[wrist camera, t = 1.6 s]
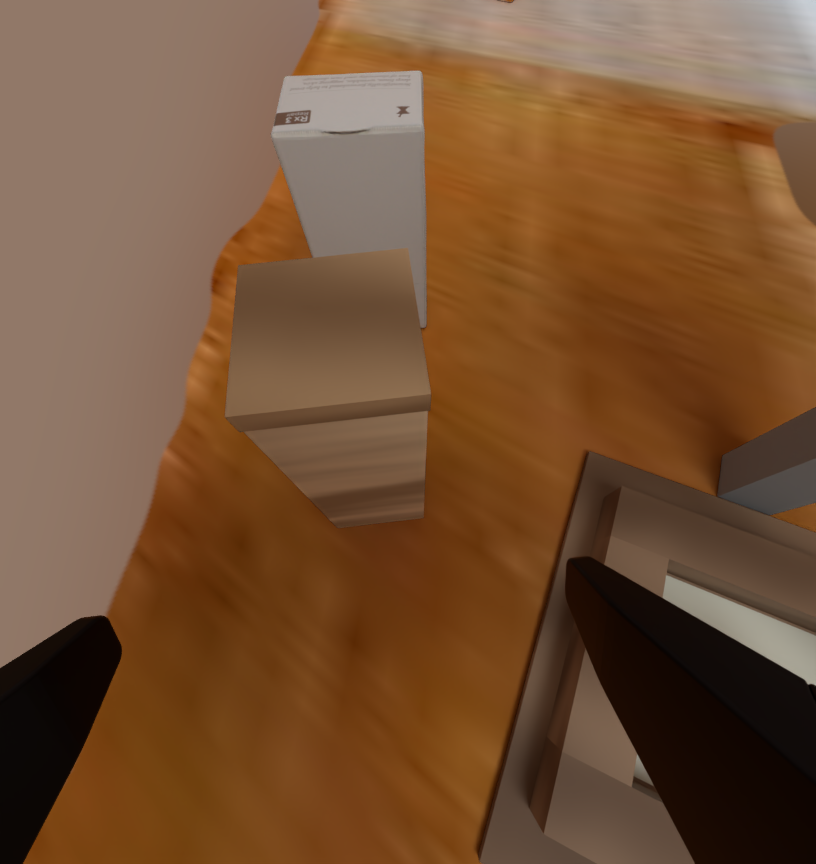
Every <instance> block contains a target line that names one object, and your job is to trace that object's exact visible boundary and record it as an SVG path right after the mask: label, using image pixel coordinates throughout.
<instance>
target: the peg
mask: <svg viewBox="0 0 816 864" xmlns="http://www.w3.org/2000/svg"><path fill="white" fill-rule="evenodd" d="M430 405H431V390H430V384H429V378H428V371H427V365H426V359H425V352H424V346H423V340H422V333H421V327H420V321H419V314H418V308H417V302H416V295H415V289H414V283H413V276H412V270H411V264H410V257H409V251H408V248H401V249H392V250H382V251H373V252H363V253H353V254H344V255H334V256H324V257H315V258H305V259H296V260H286V261H276V262H267V263H257V264H247V265H238V274H237V285H236V296H235V307H234V318H233V330H232V341H231V352H230V363H229V374H228V386H227V397H226V408H225V418H226V419H227V420H228V421H229V422H230V423H231V424H232V425H233V426H234V427H235V428H236V429H237V430H238V431H239V432H244V433H245V434H246V435H247V436H248V437H249V438H250V439H251V440H252V441H253V442H254V443H255V444H256V445H257V446H258V447H259V448H260V449H261V450H262V451H263V452H264V453H265V454H266V455H267V456H268V457H269V458H270V459H271V460H272V461H273V462H274V463H275V464H276V466H277V467H278V468H279V469H280V470H281V471H282V472H283V473H284V474H285V475H286V476H287V477H288V478H289V479H290V480H291V481H292V482H293V483H294V484H295V485H296V486H297V487H298V488H299V489H300V490H301V491H302V492H303V493H304V494H305V495H306V496H307V497H308V498H309V499H310V500H311V501H312V502H313V503H314V504H315V505H316V506H317V507H318V509H319V510H320V511H321V512H322V513H323V514H324V515H325V516H326V517H327V518H328V519H329V520H330V521H331V522H332V523H333V524H334V525H335V526H336V527H337V528H343V527H352V526H360V525H369V524H377V523H386V522H394V521H402V520H411V519H419V518H424V495H425V470H426V445H427V419H428V411H430Z"/></svg>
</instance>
